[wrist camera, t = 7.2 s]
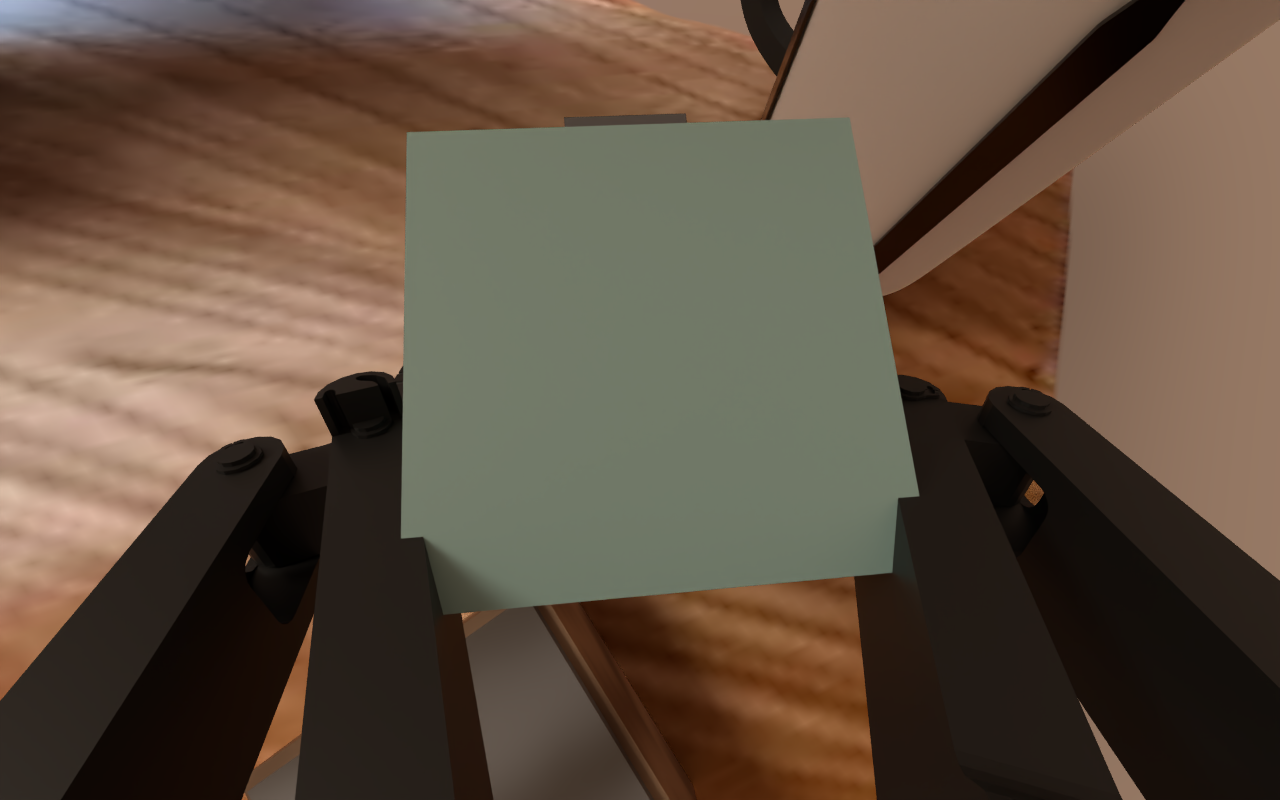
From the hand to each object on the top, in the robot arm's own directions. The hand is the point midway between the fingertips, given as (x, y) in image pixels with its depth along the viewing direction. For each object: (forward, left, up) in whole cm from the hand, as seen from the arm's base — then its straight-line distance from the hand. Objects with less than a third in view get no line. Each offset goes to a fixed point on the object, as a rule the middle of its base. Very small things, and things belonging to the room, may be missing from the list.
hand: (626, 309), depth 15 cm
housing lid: (+3, -2, +3) cm, 4 cm away
